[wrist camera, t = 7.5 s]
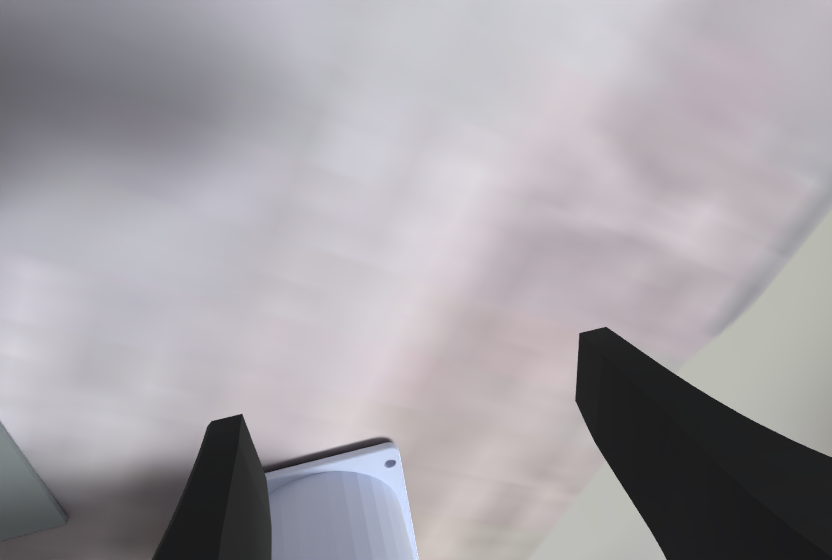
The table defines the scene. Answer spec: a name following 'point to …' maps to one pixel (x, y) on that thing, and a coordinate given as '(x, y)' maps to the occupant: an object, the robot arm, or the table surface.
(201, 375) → the table surface
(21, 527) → the slate mat
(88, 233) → the table surface
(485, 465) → the table surface
